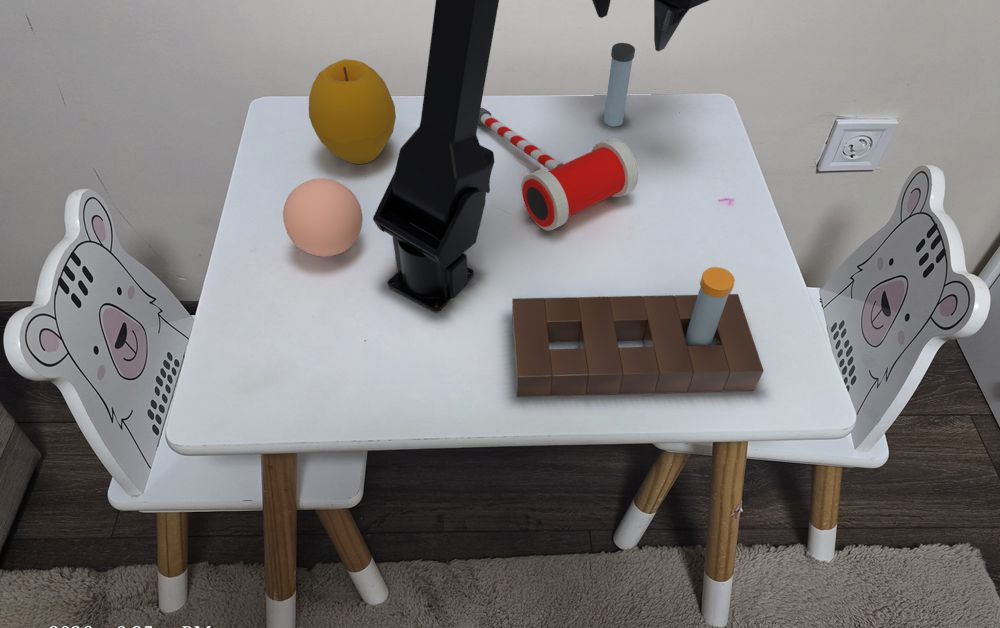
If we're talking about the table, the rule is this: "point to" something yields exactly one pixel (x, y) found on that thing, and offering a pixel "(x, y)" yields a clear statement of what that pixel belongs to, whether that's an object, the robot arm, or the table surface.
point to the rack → (628, 368)
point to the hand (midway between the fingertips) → (630, 32)
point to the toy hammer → (570, 177)
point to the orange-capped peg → (709, 306)
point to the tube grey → (618, 83)
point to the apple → (352, 111)
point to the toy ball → (322, 217)
